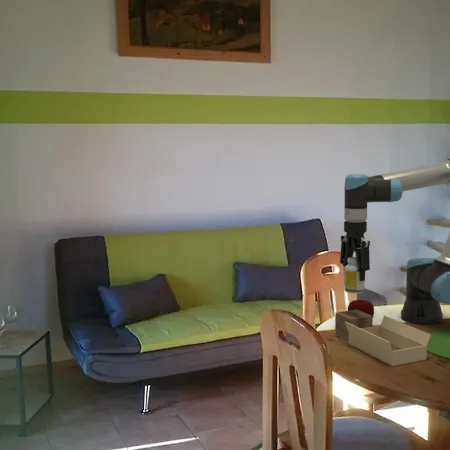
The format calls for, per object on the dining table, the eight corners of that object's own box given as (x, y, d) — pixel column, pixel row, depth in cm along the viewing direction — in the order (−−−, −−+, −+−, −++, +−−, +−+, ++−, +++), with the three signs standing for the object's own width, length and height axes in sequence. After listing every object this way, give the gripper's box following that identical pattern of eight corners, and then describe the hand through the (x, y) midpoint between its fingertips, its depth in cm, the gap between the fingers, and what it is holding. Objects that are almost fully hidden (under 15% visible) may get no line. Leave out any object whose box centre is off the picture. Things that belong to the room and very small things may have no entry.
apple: (364, 321, 237) (365, 295, 235) (379, 328, 228) (380, 301, 227) (342, 324, 234) (342, 298, 232) (356, 332, 225) (356, 304, 223)
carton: (384, 337, 219) (384, 315, 218) (430, 358, 198) (431, 334, 197) (344, 344, 212) (344, 321, 211) (387, 366, 191) (388, 341, 190)
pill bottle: (363, 294, 213) (364, 260, 212) (343, 293, 215) (344, 259, 213) (363, 289, 220) (364, 256, 218) (344, 289, 221) (344, 256, 219)
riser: (356, 331, 225) (357, 309, 224) (372, 338, 217) (372, 316, 216) (335, 334, 222) (335, 312, 221) (350, 342, 214) (350, 319, 213)
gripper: (330, 217, 221) (329, 282, 224) (363, 225, 203) (361, 295, 207) (348, 216, 224) (346, 280, 227) (382, 223, 206) (380, 292, 210)
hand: (354, 287), depth 217 cm, fingers closed on pill bottle, 6 cm apart
